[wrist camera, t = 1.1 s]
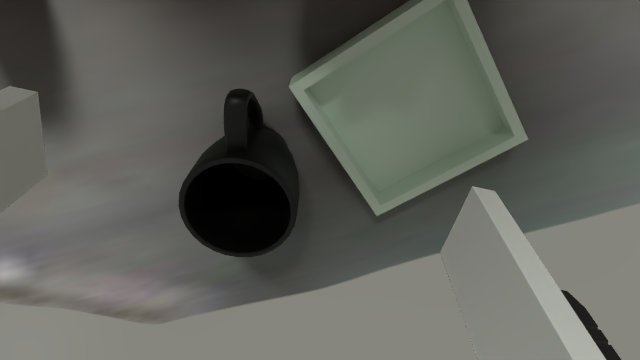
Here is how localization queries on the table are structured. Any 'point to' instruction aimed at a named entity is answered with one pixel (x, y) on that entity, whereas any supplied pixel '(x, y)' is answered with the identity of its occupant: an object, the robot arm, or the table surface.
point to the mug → (242, 185)
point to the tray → (410, 101)
